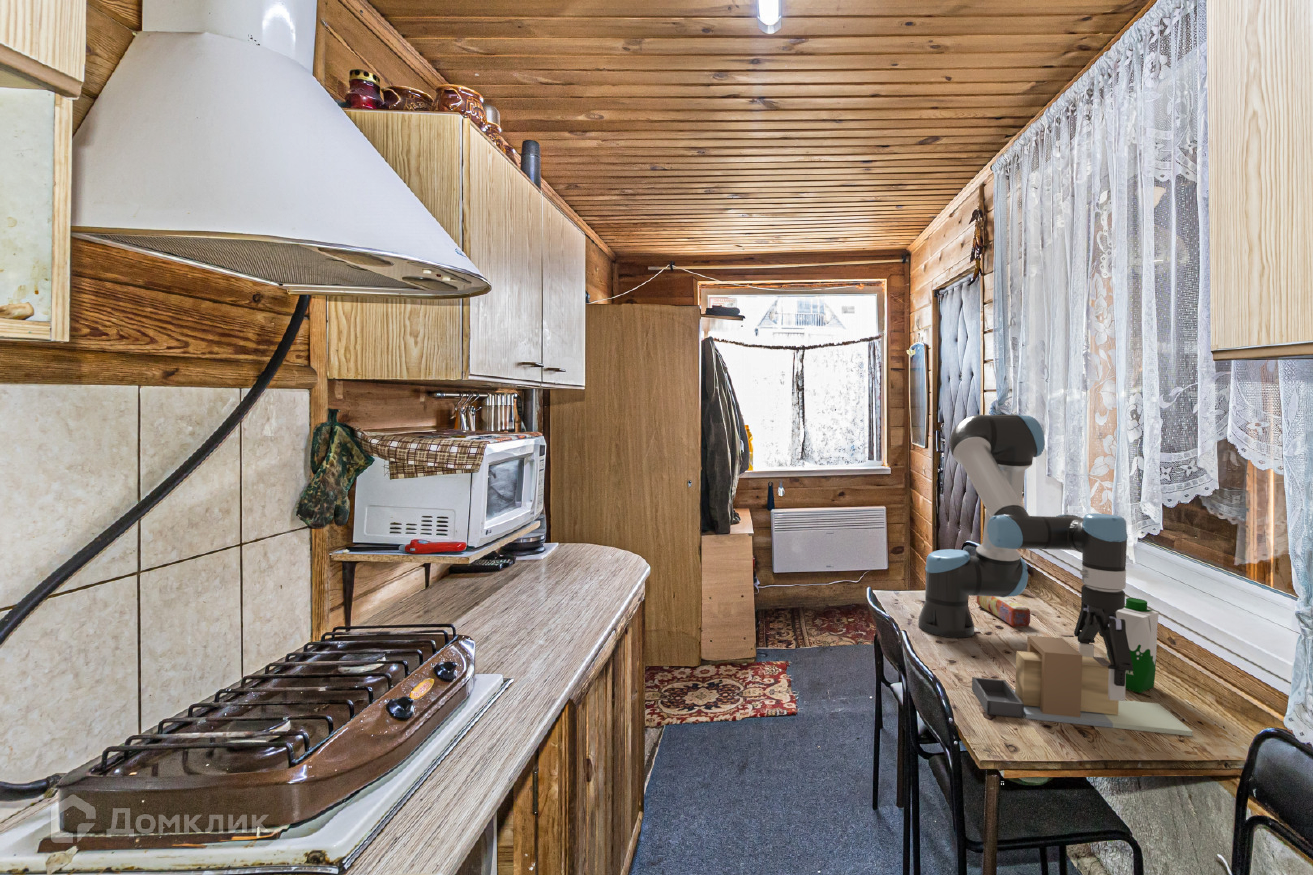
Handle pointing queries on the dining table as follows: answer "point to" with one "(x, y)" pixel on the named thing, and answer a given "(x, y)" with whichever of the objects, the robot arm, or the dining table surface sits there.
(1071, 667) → the board
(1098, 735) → the dining table surface
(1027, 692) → the block
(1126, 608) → the milk carton
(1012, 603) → the snack package
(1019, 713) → the tray
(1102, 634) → the robot arm
